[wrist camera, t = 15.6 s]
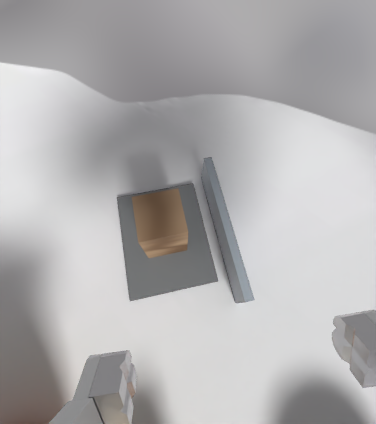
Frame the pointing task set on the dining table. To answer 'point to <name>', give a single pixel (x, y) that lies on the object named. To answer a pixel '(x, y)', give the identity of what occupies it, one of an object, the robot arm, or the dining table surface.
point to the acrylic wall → (226, 234)
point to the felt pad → (171, 263)
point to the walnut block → (160, 223)
